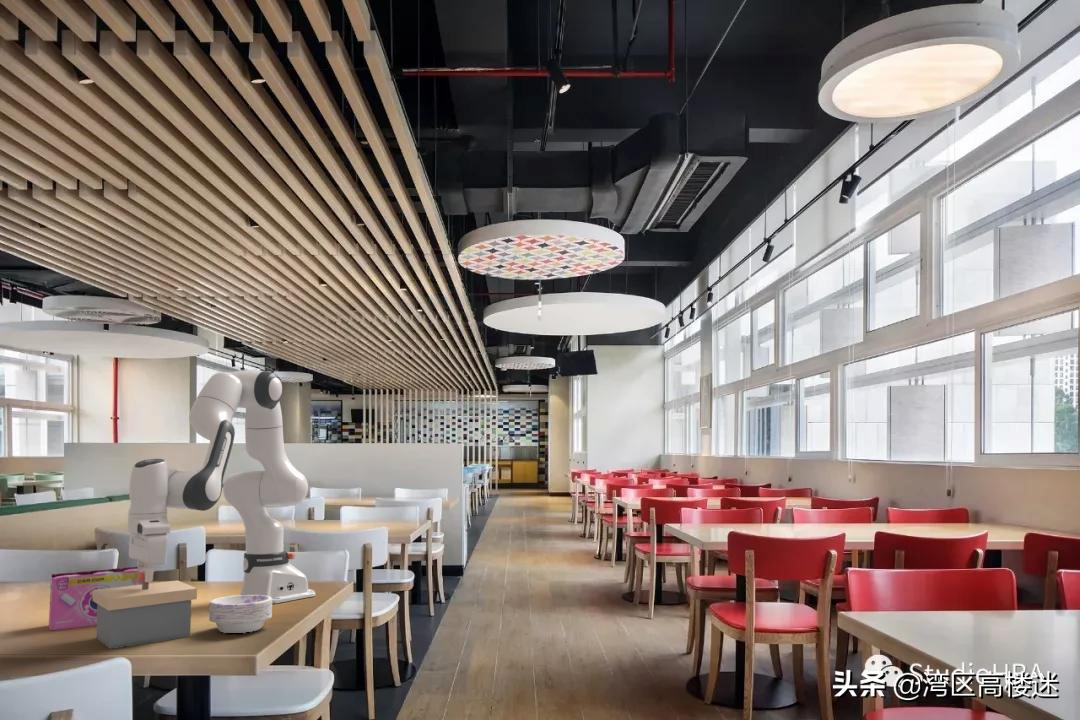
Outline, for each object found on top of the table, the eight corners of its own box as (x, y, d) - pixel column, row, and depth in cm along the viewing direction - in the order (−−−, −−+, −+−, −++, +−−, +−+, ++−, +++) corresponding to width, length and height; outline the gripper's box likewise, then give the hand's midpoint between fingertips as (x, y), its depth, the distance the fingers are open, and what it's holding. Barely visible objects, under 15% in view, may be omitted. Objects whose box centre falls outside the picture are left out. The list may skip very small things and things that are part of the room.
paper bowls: (275, 622, 217) (276, 591, 217) (266, 635, 202) (267, 603, 202) (215, 625, 214) (216, 594, 215) (202, 639, 199) (203, 605, 200)
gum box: (147, 614, 228) (148, 565, 230) (151, 619, 222) (153, 568, 223) (47, 625, 215) (50, 573, 217) (49, 631, 209) (51, 577, 210)
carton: (173, 626, 212) (174, 587, 213) (190, 636, 202) (191, 595, 202) (96, 638, 201) (98, 596, 202) (110, 649, 190) (112, 605, 191)
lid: (177, 590, 214) (177, 564, 215) (196, 599, 202) (197, 571, 203) (92, 600, 202) (93, 572, 202) (108, 610, 189) (109, 580, 190)
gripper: (123, 522, 210) (121, 576, 208) (145, 528, 194) (143, 587, 193) (149, 520, 214) (147, 573, 212) (173, 526, 198) (171, 584, 197)
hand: (145, 580), depth 202 cm, fingers closed on lid, 3 cm apart
